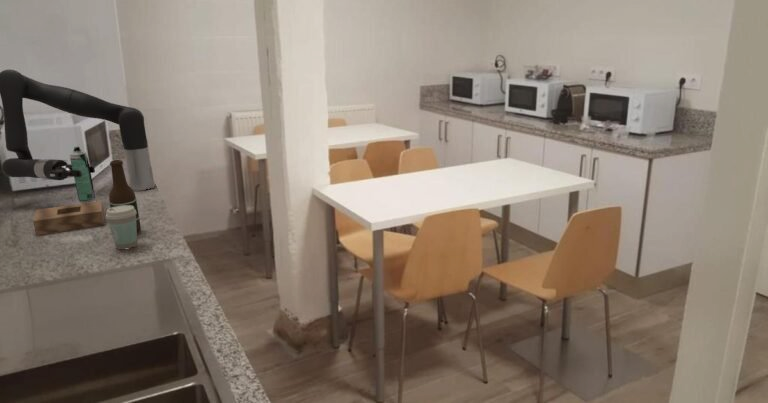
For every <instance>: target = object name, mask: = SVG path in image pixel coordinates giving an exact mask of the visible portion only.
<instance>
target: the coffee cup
mask: <svg viewBox="0 0 768 403" xmlns="http://www.w3.org/2000/svg"><path fill="white" fill-rule="evenodd" d="M136 214H137V212H136V210H135V208H134V206H131V205H121V206H116V207H112V208H110V207H109V208H108V209H107V210H106V213H105V219H107V222H108V226H109V229H110V233H111V235H112V239H113V240H114V244H115V248H116V247H117V248H119V249H125V248H131V247H134V246H136V245H137V246H138V234H137V226H136ZM137 246H136V247H137ZM117 248H116V249H117ZM134 248H135V247H134ZM119 249H118V250H119ZM131 249H132V248H131Z"/></svg>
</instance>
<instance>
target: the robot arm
mask: <svg viewBox="0 0 768 403" xmlns="http://www.w3.org/2000/svg"><path fill="white" fill-rule="evenodd" d="M23 99H26V100H31V101H35V102H39V103H42V104H44V105H47V106H49V107H51V108H54V109H56V110H59V111H61V112H65V113H68V114H72V115H76V116H77V117H78V116H79V117H83V118H90V119H98V120H104V121H108V122H111V123H113V124H116V125H118V128H119V132H120V133H119V134H120V138H121V142H122V145H123V146H122V147H123V150H124V151H123V152H124V157H125V162H126V170H127V177H128V181H129V186H130V187H131V188H132V190H133V191H134V192H140V191H146V189H148V190H150V188H151V189H154V188H155V181H154V173H153V168H152V167H153V166H152V163H151V158H150V150H149V144H148V139H147V134H146V127H145V118H144V114H143V113H142V112H141V111H140V110H139V109H137V108H135V107H131V106H130V107H129V106H124V105H121V104H116V103H112V102H109V101H106V100H104V99H101V98H100V97H96V96H94V95H91V94H88V93H85V92H83V91H79V90H76V89H72V88H69V87H64V86H60V85H53V84H47V83H45V82H44V83H43V82H41V81H38V80H36V79H33V78H30V77H28V76H26V75H23V74H22V73H21V72H19V71H17V70H14V69H4V70H2V71H1V72H0V100H1V105H2V110H3V121H4V123H3V124H4V139H5V140H4V141H5V147H6V148H5V149H6V150H7V151H9V152H11V153H15V154H16V156H17V157H12V158H7V159H6V160H4V162H3V163H2V165H1V169H2V170H1V171H2V172H3V174H4V175H5V176H8V177H9V178H34V179H43V180H48V181H63V180H66V179H68V178H74V177H81V176H82V175H81V171H77V170H72V165H71V163H67V162H66V161H65V160H63V159H51V158H46V159H41V158H40V159H39V158H33V156H32V153H31V151H30V148H29V143H28V142H29V141H28V129H27V124H26V119H25V114H24V113H25V112H24V109H23V108H24V107H23ZM89 167H90V172H91V174H94V173H95V172H96V170H95V167H94V166H92V165H89Z"/></svg>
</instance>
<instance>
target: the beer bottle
mask: <svg viewBox="0 0 768 403" xmlns="http://www.w3.org/2000/svg"><path fill="white" fill-rule="evenodd" d="M123 165H124V162H123V160H121V159H116V160H115V159H114V160H111V161H110V162H109V166H110V167H111V168H110V169H111V177H112V187H111V190H110V191H109V194H108V201H109V206H110V207H109V208H112V207H116V206H121V205H131V206H134V208H135V210H136V212H137V214H136V226H137V233H138V232H139V231H140V230H141V231H142V229H141V228H142V227H141V226H142V225H141V220H140V215H139V214H140V213H139V209H138V203H137V196H136V194H135V191H133V190H132V188H131V187H130V184H128V181H127V179H126V174H125V169H124V166H123ZM141 231H140V232H141ZM140 232H139V233H140ZM139 233H138V234H139Z"/></svg>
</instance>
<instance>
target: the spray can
mask: <svg viewBox="0 0 768 403" xmlns="http://www.w3.org/2000/svg"><path fill="white" fill-rule="evenodd" d="M69 159H70V164H71V165H72V170H77V171H81V175H82V176H81V177H73V179H74V182H75V189H76V193H77V196H78V197H77V198H78V201H79V204H82V203H89V202H96V200H97V199H96V194H95V190H94V183H93V182H94V181H93V178H92V173H91V172H90V167H89V166H90V164H89V158H88V154H87V152H86V151H83V149H81V147H80V146H74V148H73V150H72V152H71V153H70V154H69Z"/></svg>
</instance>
